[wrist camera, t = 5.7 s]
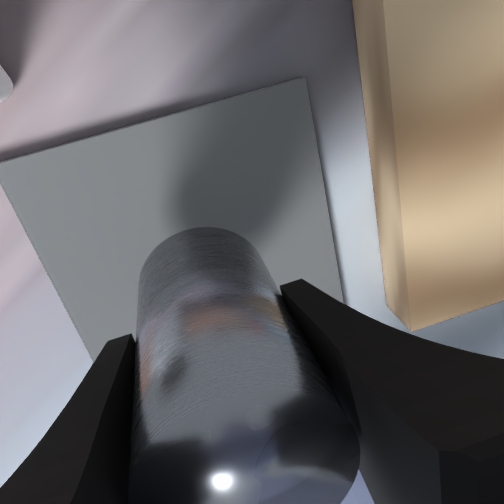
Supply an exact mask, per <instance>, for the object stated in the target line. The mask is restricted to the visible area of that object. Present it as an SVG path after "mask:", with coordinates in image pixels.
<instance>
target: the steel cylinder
mask: <svg viewBox="0 0 504 504" xmlns="http://www.w3.org/2000/svg"><path fill="white" fill-rule="evenodd" d="M360 455H361V453H360V443H359V440H358V436H357V433H356V431H355V429H354V427H353V425H352V423H351V422H350V420H349V418H348V416H347V414H346V412H345V411H344V409H343V407H342V405H341V403H340V401H339V399H338V398H337V396H336V394H335V392H334V390H333V388H332V387H331V385H330V383H329V381H328V379H327V377H326V376H325V374H324V372H323V370H322V368H321V366H320V364H319V363H318V361H317V359H316V357H315V355H314V353H313V352H312V350H311V348H310V346H309V344H308V342H307V341H306V339H305V337H304V335H303V333H302V331H301V330H300V328H299V326H298V324H297V322H296V321H295V319H294V317H293V316H292V314H291V312H290V310H289V308H288V306H287V304H286V303H285V301H284V299H283V297H282V295H281V293H280V291H279V289H278V287H277V285H276V283H275V282H274V280H273V278H272V276H271V274H270V272H269V271H268V269H267V267H266V265H265V263H264V261H263V260H262V258H261V256H260V254H259V253H258V251H257V250H256V248H255V247H254V246H253V245H252V244H251V243H250V242H249V241H247V240H246V239H245V238H244V237H242V236H240V235H238V234H237V233H234V232H232V231H229V230H226V229H222V228H217V227H197V228H191V229H187V230H184V231H181V232H178V233H176V234H174V235H172V236H170V237H168V238H167V239H166V240H164V241H163V242H161V243H160V244H159V245H158V246H157V247H156V248H155V249H154V250H153V251H152V252H151V253H150V255H149V256H148V258H147V259H146V261H145V263H144V265H143V267H142V269H141V273H140V276H139V283H138V302H137V323H136V343H135V364H134V385H133V405H132V426H131V447H130V467H129V488H128V501H129V504H341V502H342V501H343V500H344V498H345V497H346V496H347V494H348V492H349V491H350V489H351V487H352V485H353V483H354V481H355V478H356V476H357V473H358V469H359V465H360Z"/></svg>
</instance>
